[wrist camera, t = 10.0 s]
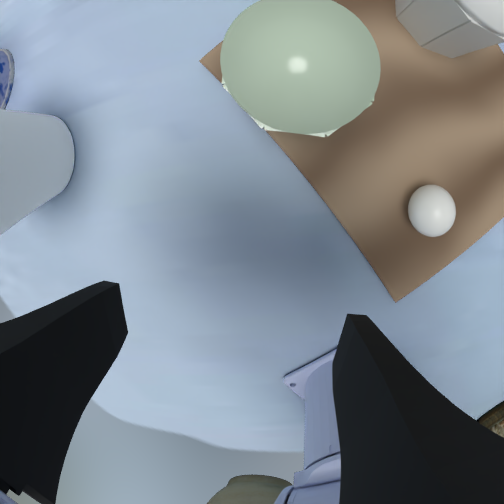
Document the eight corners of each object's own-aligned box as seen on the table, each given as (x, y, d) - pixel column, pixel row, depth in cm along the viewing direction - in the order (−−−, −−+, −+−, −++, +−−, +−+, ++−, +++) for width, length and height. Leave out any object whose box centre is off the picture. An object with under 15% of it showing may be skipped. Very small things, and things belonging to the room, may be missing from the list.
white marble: (448, 209, 16) (471, 224, 13) (414, 236, 17) (433, 254, 14) (428, 170, 15) (451, 179, 12) (392, 198, 16) (410, 212, 13)
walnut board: (548, 165, 13) (552, 166, 13) (393, 299, 19) (395, 302, 19) (404, -58, 9) (406, -61, 8) (201, 62, 15) (199, 60, 14)
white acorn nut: (482, 38, 11) (541, 20, 5) (436, 69, 12) (499, 50, 6) (429, -27, 9) (472, -67, 3) (377, -2, 11) (413, -52, 5)
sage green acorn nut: (366, 96, 14) (409, 79, 8) (290, 152, 16) (291, 165, 10) (301, 24, 13) (306, -29, 7) (226, 80, 15) (189, 53, 9)
